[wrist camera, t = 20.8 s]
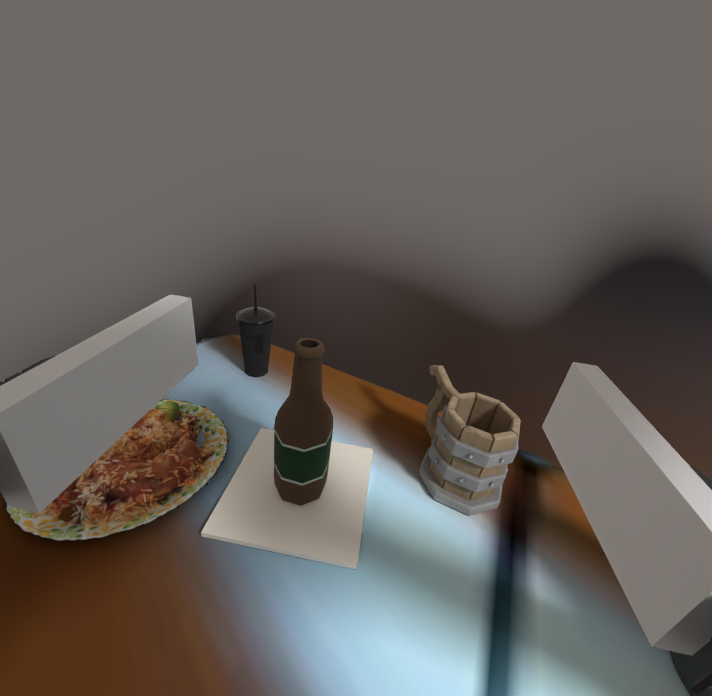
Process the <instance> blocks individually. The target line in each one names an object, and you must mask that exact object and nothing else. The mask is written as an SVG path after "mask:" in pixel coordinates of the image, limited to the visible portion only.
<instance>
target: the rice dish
mask: <svg viewBox="0 0 712 696" xmlns="http://www.w3.org/2000/svg"><path fill="white" fill-rule="evenodd" d="M180 416H181V418H182V419H179V417H180ZM225 427H226V426H224V423H223V421H222V420H221V419H219V418H218V416H217V415H216V414H215V413H214V412H212V411H211V410H208V409H207V408H205V407H204V406H199V405H194V404H193V403H189V402H186V401H179V400H168V399H164V400H162V399H161V400H160V401H159V402H158V403H157V404H156V405H155V406H154V407H153V408H151V409H150V410H149V411H148V412H147V413H146V414H145V415H144V416H143V417H142V418H141V419H140V420H139V421H138V422H137V423H135V424H134V425H133V426H132V427H131V428H130V429H129V430H128V431H127V432H126V433H125V434H124V435H123V436H122V437H120V438H119V439H118V440H117V441H116V442H115V443H114V444H113V445H112V446H111V447H110V448H109V449H108V450H107V451H106V452H104V453H103V454H102V455H101V456H100V457H99V458H98V459H97V460H96V461H95V462H94V463H93V464H92V465H91V466H89V467H88V468H87V469H86V470H85V471H84V472H83V473H82V474H81V475H80V476H79V477H78V478H77V479H76V480H74V481H73V482H72V483H71V484H70V485H69V486H68V487H67V488H66V489H65V490H64V491H63V492H62V493H61V494H60V495H58V496H57V497H56V498H55V499H54V500H53V501H52V502H51V503H50V504H49V505H48V506H47V507H46V508H45V509H43V510H42V511H41V512H40V513H37V512H33V511H28V510H23V509H19V508H14V507H10V506H8V505H7V503H6V501H5V499H3V501H4V502H5V503H4V507H6V509H7V512H8V514H9V515H10V517H11V518H12V520H13V521H14V522H15V524H16V525H19V526H21V528H20V530H22V531H24V532H27V533H32V534H34V535H36V536H41V537H44V538H48V539H52V540H54V541H64V540H78V541H79V540H84V539H91V538H95V537H96V538H102V537H104V536H107V535H110V534H113V533H116V532H120V531H128V530H131V529H133V528H135V527H138V526H140V525H141V524H148V523H150V522H152V521H153V520H155V519H156V518H159V517H160V518H161V515H163V516H165V515H166V514H167V513H169V512H170V511H171V510H173V509H175V508H178V507H179V506H180V504H183V503H185V502H186V501H188V500H189V499H190V498H191V497H192V496H193V495H194V494H195V493H197V492H198V491H199V490H200V489H201V488H202V487H203V486H205V485H207V484H208V481H209V480H210V479H211V478H213V477H214V475H215V474H216V473H217V470H218V468H219V467H220V465H222V464H221V463H222V462H223V461H224V458H225V456H226V455H227V454H226V451H227V450H226V448H227V444H228V441H229V440H228V439H227V437H226V436H227V435H228V432H227V431H226V429H225ZM198 428H200V429H201V431H202V432H203V434H204V436H205V441H203V447H198V446H197V445H196V444H195V443H196V442H197V440H196V438H197V436H198V435H197V434H199V433H200V431H199V430H197V429H198ZM204 442H205V443H204ZM68 506H72V507H73V508H72V510H75V512H74V513H73V514H72V515H71V517H72V518H73V519H72V520H71V521H69V522H65V521H62V520H61V519H58V516H59V515H60V511H61V510H62V509H63V508H66V507H68Z"/></svg>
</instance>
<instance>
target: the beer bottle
mask: <svg viewBox="0 0 712 696" xmlns="http://www.w3.org/2000/svg"><path fill="white" fill-rule="evenodd" d="M292 350H293V352H294V353H295V357H294V366H293V375H292V384H291V390H290V394H289V397H288V398H287V399H286V401H285V402H284V403H283V405H282V406H281V408H280V409H279V411H278V413H277V416H276V418H275V426H274V484H275V486H276V488H277V490H278V493H279V495H280V497H281V499H282V500H283V501H287V502H290V503H293V504H296V505H300V506H302V505H304V504H307V503H309V502H311V501H314V500H316V499H319V498H320V496H321V493H322V491H323V488H324V486H325V484H326V480H327V475H328V467H329V458H330V449H331V441H332V432H333V416H332V413H331V410H330V408H329V406H328V405H327V404H326V402H325V401H324V400H323V396H322V355H323V353H324V352H325V349H324V345H323V344H322V343H321V342H320V341H319V340H317V339H312V338H303V339H298V341H297V342H296V343H295V344H294V347H293V349H292Z"/></svg>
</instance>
